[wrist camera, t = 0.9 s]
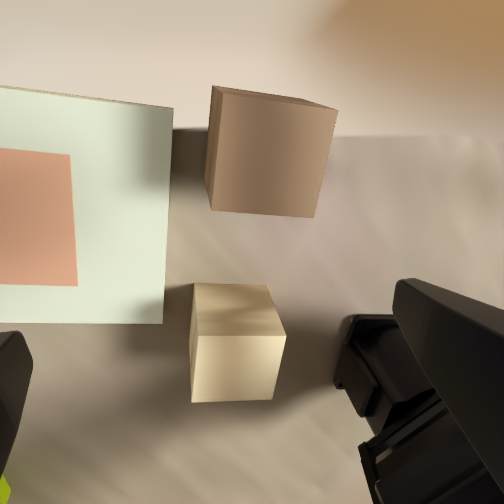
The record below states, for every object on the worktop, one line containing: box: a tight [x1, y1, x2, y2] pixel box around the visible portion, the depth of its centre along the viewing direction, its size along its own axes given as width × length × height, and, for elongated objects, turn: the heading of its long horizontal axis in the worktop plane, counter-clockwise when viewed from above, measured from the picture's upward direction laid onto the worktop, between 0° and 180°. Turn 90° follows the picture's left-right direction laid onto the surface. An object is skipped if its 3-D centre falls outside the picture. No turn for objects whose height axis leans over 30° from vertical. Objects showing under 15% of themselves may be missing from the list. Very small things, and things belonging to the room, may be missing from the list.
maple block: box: [189, 283, 286, 402], centre depth 22 cm, size 4×4×5 cm
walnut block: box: [204, 86, 338, 218], centre depth 17 cm, size 4×4×5 cm
